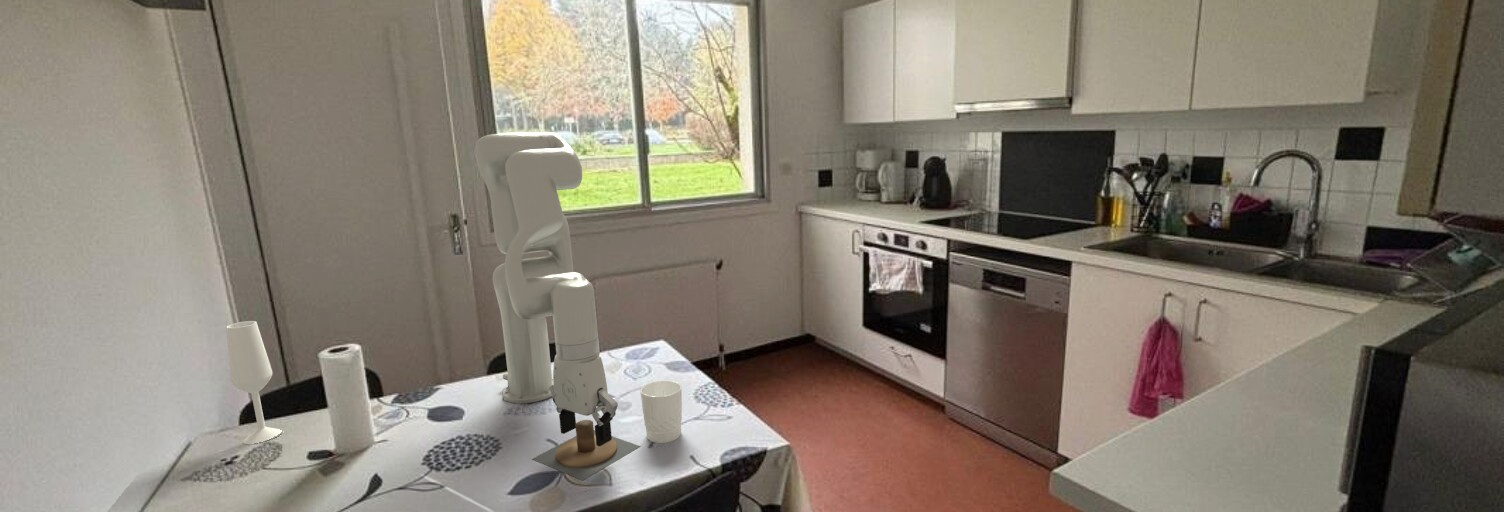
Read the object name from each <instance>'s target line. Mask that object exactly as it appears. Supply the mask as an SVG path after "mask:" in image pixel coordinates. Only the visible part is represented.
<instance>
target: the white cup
mask: <svg viewBox="0 0 1504 512" xmlns="http://www.w3.org/2000/svg"><path fill="white" fill-rule="evenodd" d="M682 396H683V395H682V385H681V384H680V383H679V382H676V381H672V380H658V381H654V382H648V383H647V384H645V385H643V386H642V387H641V389H640V400H641V407H642V414H643V421H644V426H645V432H646V439H647V440H649V441H650V442H652V443H658V444H659V443H662V444H663V443H670V442H672V441H674V440H677V439H678V438H680V436H681V435H682V419H683V418H682V416H683V415H682V414H683V413H682V411H683V408H682V404H683V403H682V399H683V398H682Z"/></svg>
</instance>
